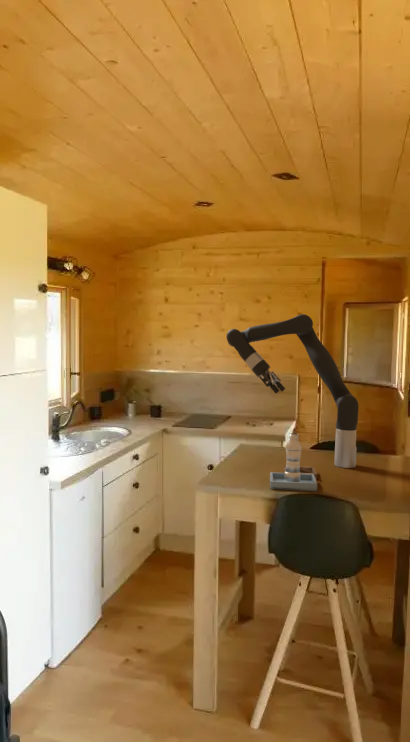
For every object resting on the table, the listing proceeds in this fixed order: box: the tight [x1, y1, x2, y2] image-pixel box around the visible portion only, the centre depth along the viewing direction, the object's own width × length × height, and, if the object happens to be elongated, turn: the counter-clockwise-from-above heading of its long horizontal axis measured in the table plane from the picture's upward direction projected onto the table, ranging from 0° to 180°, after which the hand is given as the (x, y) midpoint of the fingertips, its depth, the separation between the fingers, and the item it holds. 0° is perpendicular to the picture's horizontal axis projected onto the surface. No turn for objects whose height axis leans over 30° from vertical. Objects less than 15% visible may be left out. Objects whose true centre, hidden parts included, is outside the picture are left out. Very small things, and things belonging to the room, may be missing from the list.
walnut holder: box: [283, 465, 318, 481], centre depth 241 cm, size 13×12×2 cm
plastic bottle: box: [284, 432, 303, 482], centre depth 226 cm, size 6×7×20 cm
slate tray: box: [269, 471, 318, 492], centre depth 227 cm, size 18×14×3 cm
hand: (280, 391), depth 252 cm, fingers open, 8 cm apart
